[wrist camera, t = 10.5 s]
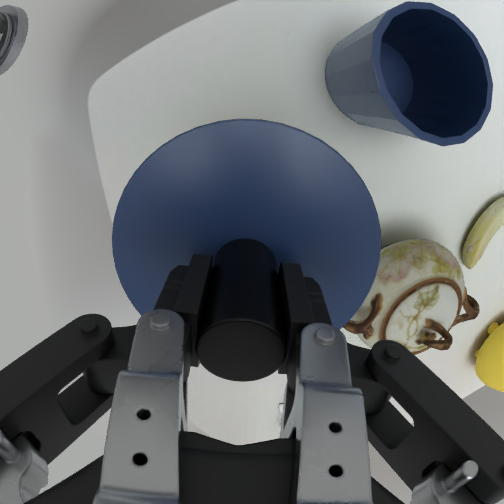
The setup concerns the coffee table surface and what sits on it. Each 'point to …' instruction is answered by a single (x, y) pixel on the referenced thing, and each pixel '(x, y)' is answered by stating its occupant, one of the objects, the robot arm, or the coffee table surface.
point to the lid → (247, 234)
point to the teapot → (492, 358)
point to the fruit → (483, 232)
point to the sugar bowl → (414, 298)
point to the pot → (413, 75)
